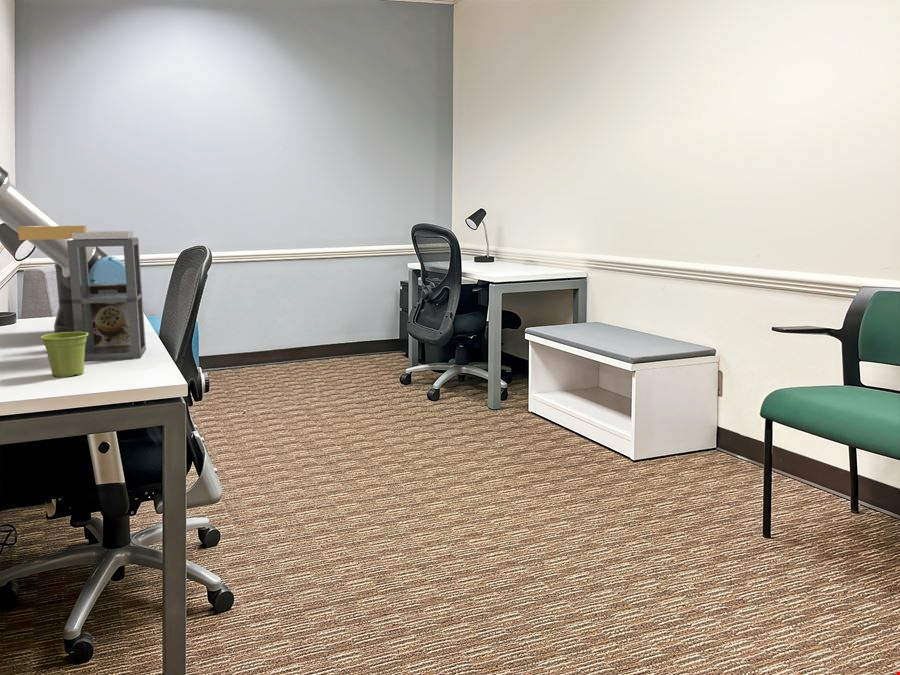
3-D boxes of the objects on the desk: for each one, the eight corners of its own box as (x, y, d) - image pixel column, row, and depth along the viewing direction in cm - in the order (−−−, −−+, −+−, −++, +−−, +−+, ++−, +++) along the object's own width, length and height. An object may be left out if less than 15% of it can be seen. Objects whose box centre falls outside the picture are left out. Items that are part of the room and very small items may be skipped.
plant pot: (38, 380, 174) (34, 339, 172) (50, 371, 183) (47, 332, 182) (86, 378, 176) (82, 337, 174) (95, 369, 185) (92, 330, 183)
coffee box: (93, 349, 210) (87, 286, 208) (93, 346, 216) (88, 283, 213) (131, 347, 213) (127, 284, 211) (131, 343, 219) (126, 282, 217)
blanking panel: (26, 238, 198) (25, 226, 197) (133, 236, 203) (132, 224, 203) (15, 240, 188) (14, 227, 188) (128, 238, 194) (127, 225, 193)
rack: (84, 352, 206) (75, 238, 201) (146, 349, 209) (138, 237, 205) (75, 361, 194) (65, 240, 190) (140, 358, 198) (132, 239, 193)
